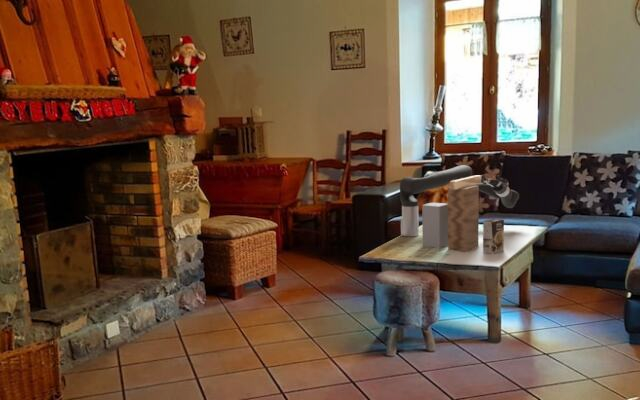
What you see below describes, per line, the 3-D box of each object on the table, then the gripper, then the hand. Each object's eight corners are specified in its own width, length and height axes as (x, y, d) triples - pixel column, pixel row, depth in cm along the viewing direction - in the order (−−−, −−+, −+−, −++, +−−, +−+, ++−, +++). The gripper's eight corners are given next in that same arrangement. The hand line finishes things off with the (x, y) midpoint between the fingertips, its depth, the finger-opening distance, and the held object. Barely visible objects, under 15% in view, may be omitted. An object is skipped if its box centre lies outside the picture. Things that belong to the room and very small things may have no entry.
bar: (450, 189, 305) (450, 181, 304) (475, 182, 326) (475, 175, 325) (455, 189, 303) (455, 181, 302) (481, 183, 324) (481, 175, 323)
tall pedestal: (448, 249, 315) (447, 187, 310) (460, 244, 325) (460, 184, 320) (465, 252, 308) (465, 189, 304) (478, 246, 319) (478, 185, 314)
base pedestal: (422, 246, 324) (422, 205, 321) (432, 242, 332) (431, 202, 329) (439, 248, 318) (439, 206, 315) (448, 244, 326) (448, 203, 322)
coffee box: (493, 254, 302) (493, 222, 300) (482, 252, 307) (482, 220, 305) (504, 251, 308) (504, 219, 305) (493, 249, 313) (493, 217, 310)
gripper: (490, 181, 352) (479, 170, 340) (514, 182, 343) (503, 171, 331) (487, 193, 350) (476, 182, 339) (511, 195, 341) (500, 183, 329)
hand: (489, 176), depth 335 cm, fingers open, 8 cm apart
